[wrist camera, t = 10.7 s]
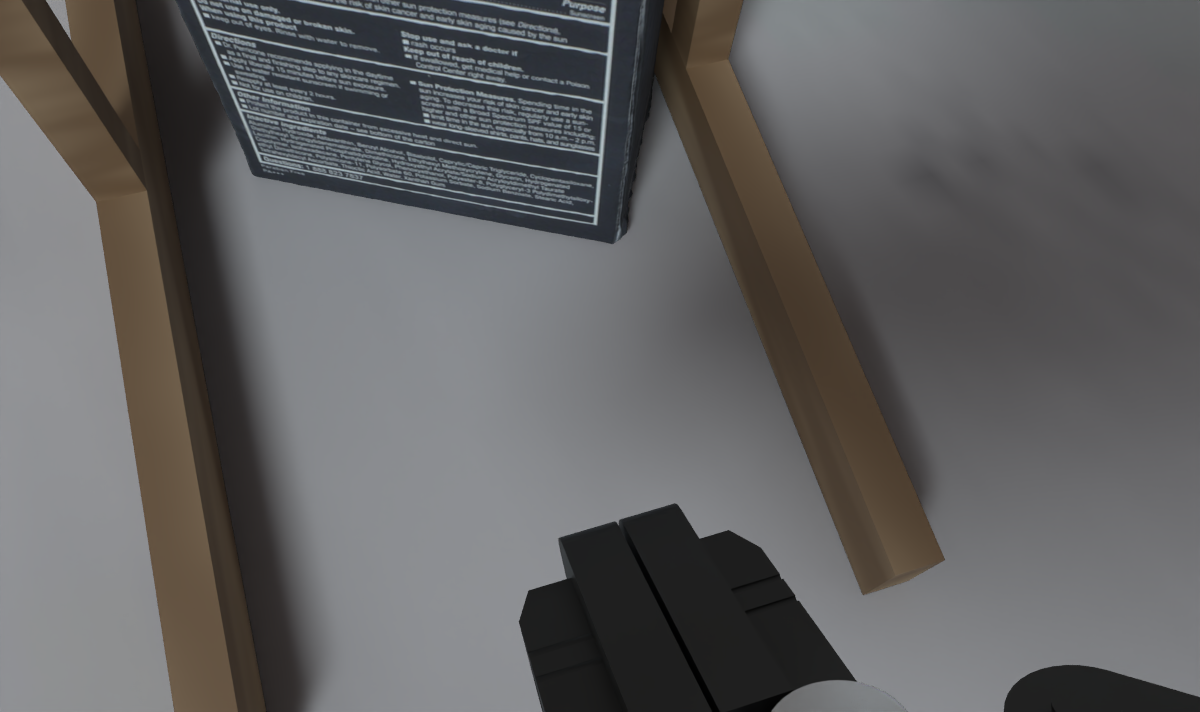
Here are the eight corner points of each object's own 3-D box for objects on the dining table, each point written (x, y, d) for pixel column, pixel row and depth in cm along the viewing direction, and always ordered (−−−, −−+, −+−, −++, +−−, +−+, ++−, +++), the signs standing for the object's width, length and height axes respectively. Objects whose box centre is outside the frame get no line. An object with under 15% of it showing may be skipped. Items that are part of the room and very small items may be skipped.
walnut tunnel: (609, -135, 34) (652, -708, 21) (908, 580, 25) (1290, 363, 12) (85, -35, 31) (-237, -620, 18) (223, 800, 23) (-196, 815, 10)
